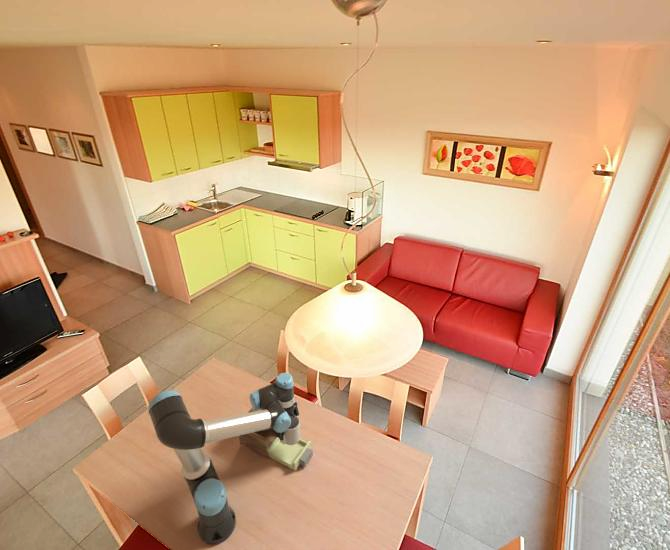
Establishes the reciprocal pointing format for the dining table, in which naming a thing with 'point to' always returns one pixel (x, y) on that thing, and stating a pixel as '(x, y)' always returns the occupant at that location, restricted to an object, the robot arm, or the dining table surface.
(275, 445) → the tray
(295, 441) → the mug
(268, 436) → the cubby
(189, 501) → the dining table surface
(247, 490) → the dining table surface
